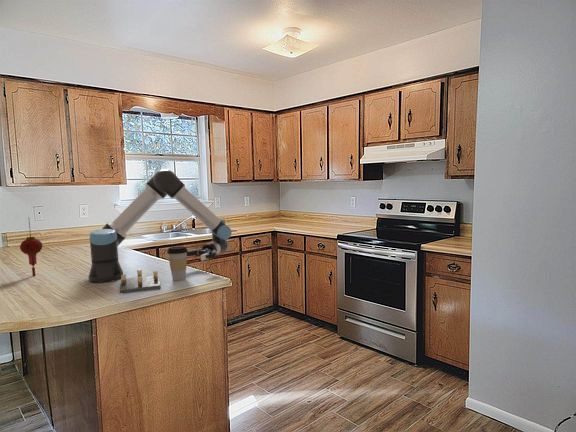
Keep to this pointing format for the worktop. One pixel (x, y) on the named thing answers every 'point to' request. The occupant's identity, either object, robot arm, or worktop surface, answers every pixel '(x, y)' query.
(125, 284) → the pin plate
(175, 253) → the coffee cup
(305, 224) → the worktop surface
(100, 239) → the robot arm
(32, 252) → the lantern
